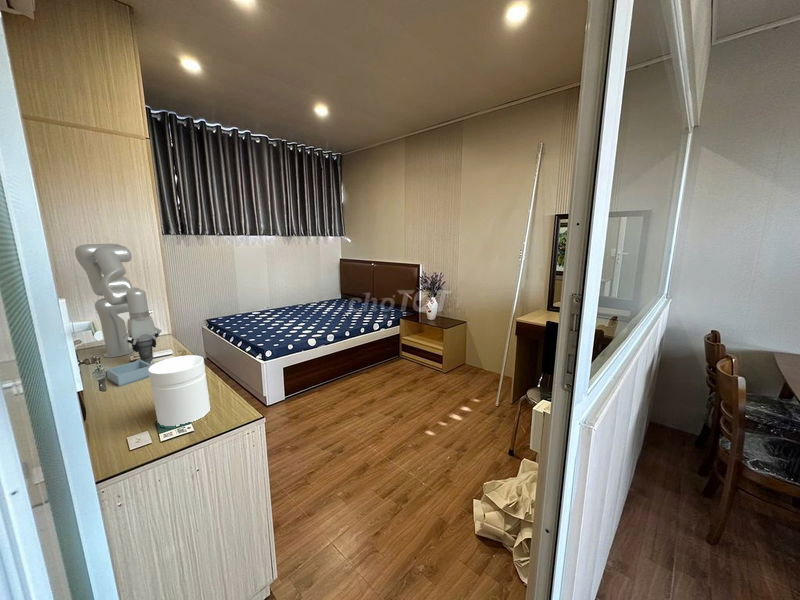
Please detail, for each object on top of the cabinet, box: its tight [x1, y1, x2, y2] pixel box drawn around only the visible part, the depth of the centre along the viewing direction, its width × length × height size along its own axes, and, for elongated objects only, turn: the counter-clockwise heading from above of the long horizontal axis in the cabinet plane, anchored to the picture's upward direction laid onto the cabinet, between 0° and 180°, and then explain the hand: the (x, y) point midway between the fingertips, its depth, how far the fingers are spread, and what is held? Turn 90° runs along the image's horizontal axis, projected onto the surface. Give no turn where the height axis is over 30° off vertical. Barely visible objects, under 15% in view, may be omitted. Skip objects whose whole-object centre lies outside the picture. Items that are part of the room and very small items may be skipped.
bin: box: [105, 359, 153, 388], centre depth 145 cm, size 13×13×5 cm
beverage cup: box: [136, 334, 154, 364], centre depth 159 cm, size 7×7×20 cm
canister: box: [148, 354, 211, 426], centre depth 113 cm, size 16×16×20 cm
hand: (145, 348), depth 160 cm, fingers closed on beverage cup, 6 cm apart
